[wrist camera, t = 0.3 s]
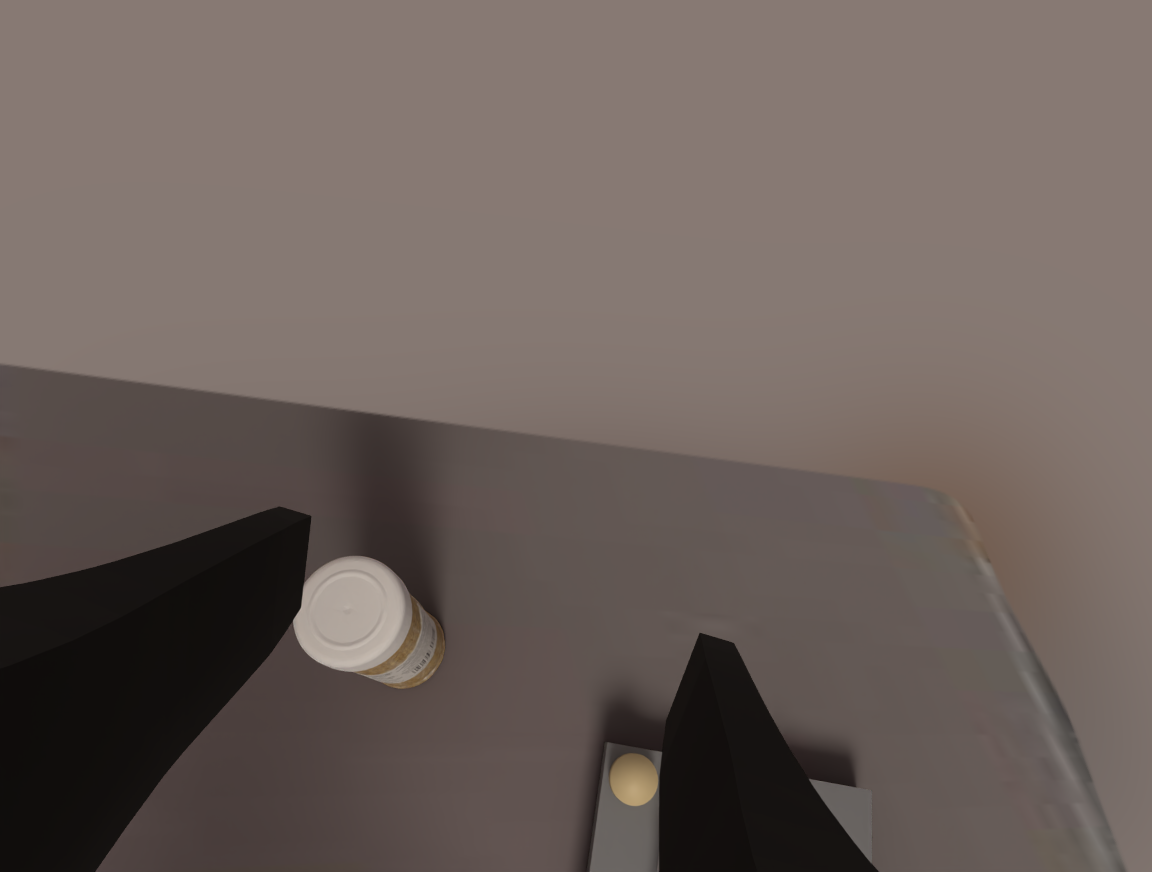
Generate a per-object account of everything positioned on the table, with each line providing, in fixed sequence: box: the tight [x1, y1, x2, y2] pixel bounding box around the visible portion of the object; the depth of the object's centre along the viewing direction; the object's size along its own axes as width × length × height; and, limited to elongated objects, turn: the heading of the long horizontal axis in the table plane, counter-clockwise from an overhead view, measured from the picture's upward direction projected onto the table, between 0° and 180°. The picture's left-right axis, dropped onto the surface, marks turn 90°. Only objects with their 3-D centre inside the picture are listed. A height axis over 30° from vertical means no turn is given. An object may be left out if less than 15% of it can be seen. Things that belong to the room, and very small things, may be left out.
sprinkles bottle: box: [293, 556, 445, 689], centre depth 35 cm, size 5×5×13 cm
